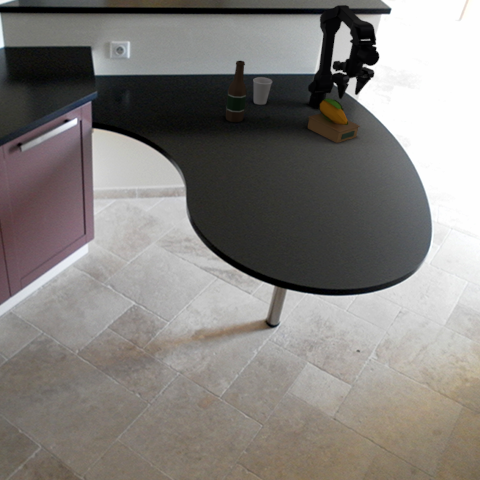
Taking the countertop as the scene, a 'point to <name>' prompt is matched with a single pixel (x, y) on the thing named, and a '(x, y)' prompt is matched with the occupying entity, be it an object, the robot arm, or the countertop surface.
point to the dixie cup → (261, 90)
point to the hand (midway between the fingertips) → (348, 96)
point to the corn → (333, 111)
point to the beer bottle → (236, 95)
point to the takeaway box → (332, 128)
